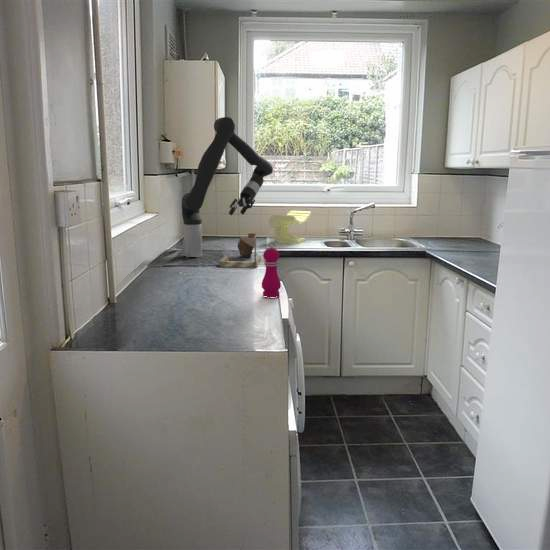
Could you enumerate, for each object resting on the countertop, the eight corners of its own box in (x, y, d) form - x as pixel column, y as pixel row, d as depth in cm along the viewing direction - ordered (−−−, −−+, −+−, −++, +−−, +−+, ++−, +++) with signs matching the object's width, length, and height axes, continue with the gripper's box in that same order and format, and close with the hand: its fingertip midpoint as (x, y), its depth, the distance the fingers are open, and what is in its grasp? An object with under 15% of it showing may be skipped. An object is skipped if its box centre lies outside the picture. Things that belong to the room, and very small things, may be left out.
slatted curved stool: (287, 237, 338) (287, 210, 334) (310, 239, 332) (311, 211, 328) (269, 244, 311) (269, 214, 307) (293, 246, 305) (293, 216, 301)
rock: (259, 249, 265) (243, 239, 262) (247, 264, 268) (232, 255, 265) (257, 240, 276) (242, 230, 273) (246, 255, 280) (231, 245, 276)
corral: (219, 266, 247) (218, 232, 243) (226, 260, 263) (225, 227, 259) (256, 267, 245) (256, 233, 242) (261, 260, 261) (261, 228, 258)
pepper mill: (269, 292, 200) (270, 242, 196) (284, 296, 196) (285, 244, 191) (257, 296, 195) (257, 244, 190) (272, 299, 190) (272, 246, 186)
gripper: (236, 187, 275) (222, 209, 268) (255, 185, 266) (241, 208, 258) (244, 197, 280) (230, 219, 272) (263, 195, 270) (249, 218, 263)
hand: (235, 213), depth 265 cm, fingers open, 8 cm apart
